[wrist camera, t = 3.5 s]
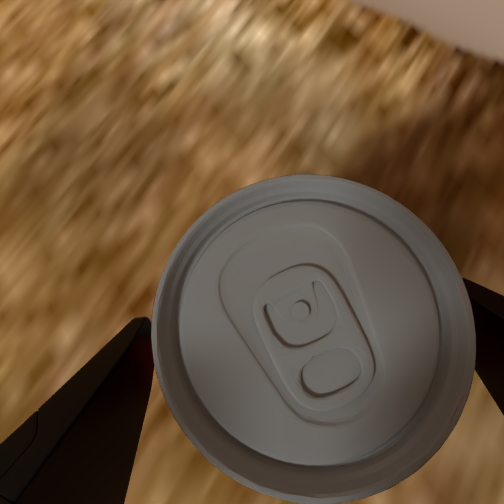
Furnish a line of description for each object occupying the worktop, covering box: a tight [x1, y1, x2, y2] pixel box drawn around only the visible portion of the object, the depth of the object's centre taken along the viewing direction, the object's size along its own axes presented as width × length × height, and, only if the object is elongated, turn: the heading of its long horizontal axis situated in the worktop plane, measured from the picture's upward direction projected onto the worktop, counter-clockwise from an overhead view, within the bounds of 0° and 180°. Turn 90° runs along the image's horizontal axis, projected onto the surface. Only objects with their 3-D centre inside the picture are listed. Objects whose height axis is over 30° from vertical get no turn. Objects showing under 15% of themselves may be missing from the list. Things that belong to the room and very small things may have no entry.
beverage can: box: [151, 174, 476, 504], centre depth 11 cm, size 7×7×12 cm
